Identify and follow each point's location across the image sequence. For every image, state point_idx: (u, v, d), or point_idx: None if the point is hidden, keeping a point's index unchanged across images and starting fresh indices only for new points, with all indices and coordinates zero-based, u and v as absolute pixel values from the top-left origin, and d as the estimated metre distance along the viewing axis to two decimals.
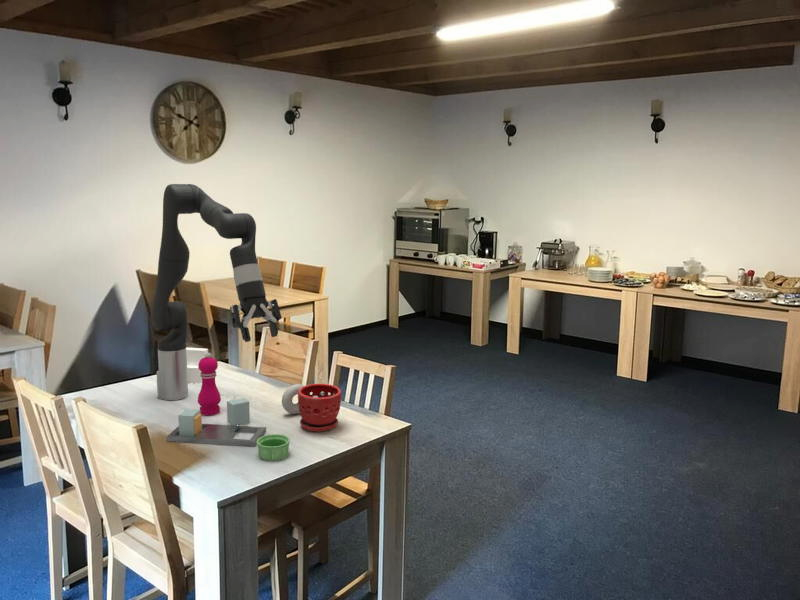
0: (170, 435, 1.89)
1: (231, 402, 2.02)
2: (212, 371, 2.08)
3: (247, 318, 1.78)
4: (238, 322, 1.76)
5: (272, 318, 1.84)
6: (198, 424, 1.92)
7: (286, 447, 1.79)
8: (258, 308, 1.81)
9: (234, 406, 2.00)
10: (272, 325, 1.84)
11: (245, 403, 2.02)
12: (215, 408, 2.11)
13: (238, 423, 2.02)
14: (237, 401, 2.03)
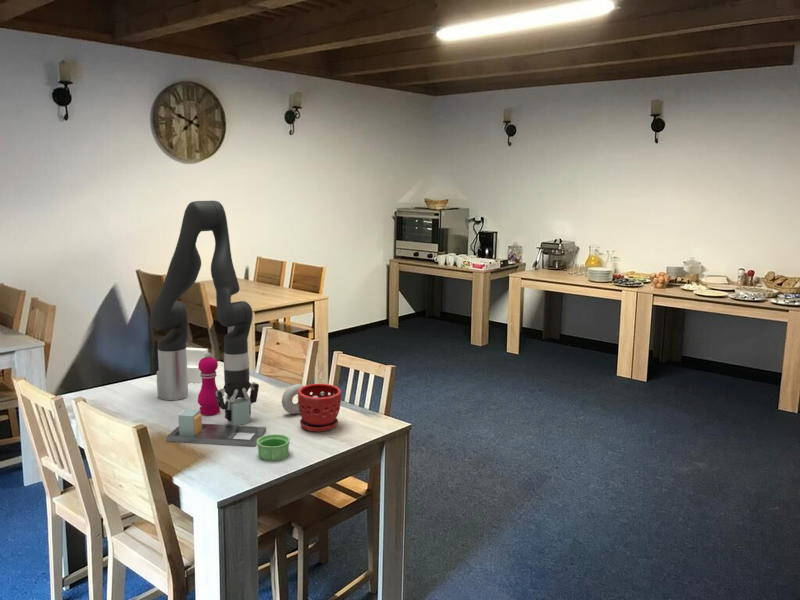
0: (170, 435, 1.89)
1: None
2: (212, 371, 2.08)
3: (230, 402, 2.00)
4: (223, 406, 1.99)
5: None
6: (198, 424, 1.92)
7: (286, 447, 1.79)
8: (239, 390, 2.02)
9: (234, 406, 2.00)
10: None
11: (245, 403, 2.02)
12: (215, 408, 2.11)
13: (238, 423, 2.02)
14: (237, 401, 2.03)
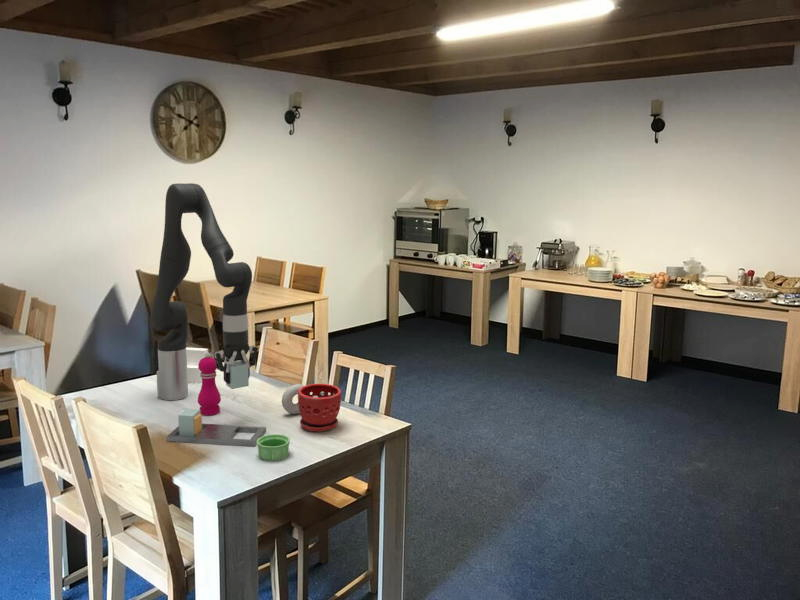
0: (170, 435, 1.89)
1: None
2: (212, 371, 2.08)
3: (229, 364, 1.98)
4: (222, 368, 1.97)
5: None
6: (198, 424, 1.92)
7: (286, 447, 1.79)
8: (238, 352, 2.00)
9: (233, 368, 1.98)
10: None
11: (244, 365, 2.00)
12: (215, 408, 2.11)
13: (237, 386, 2.00)
14: (236, 364, 2.00)
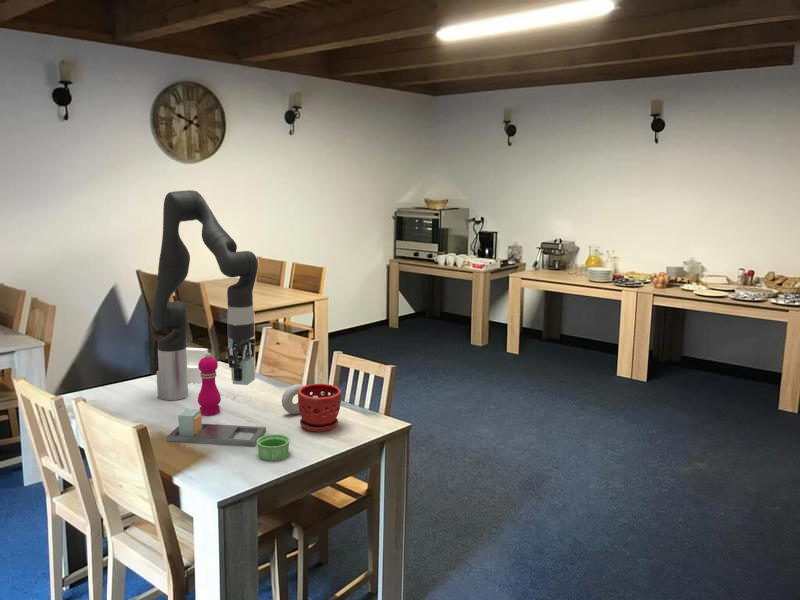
0: (170, 435, 1.89)
1: None
2: (212, 371, 2.08)
3: (242, 359, 1.87)
4: (238, 364, 1.84)
5: None
6: (198, 424, 1.92)
7: (286, 447, 1.79)
8: None
9: (246, 363, 1.87)
10: None
11: (252, 359, 1.91)
12: (215, 408, 2.11)
13: (249, 381, 1.89)
14: None
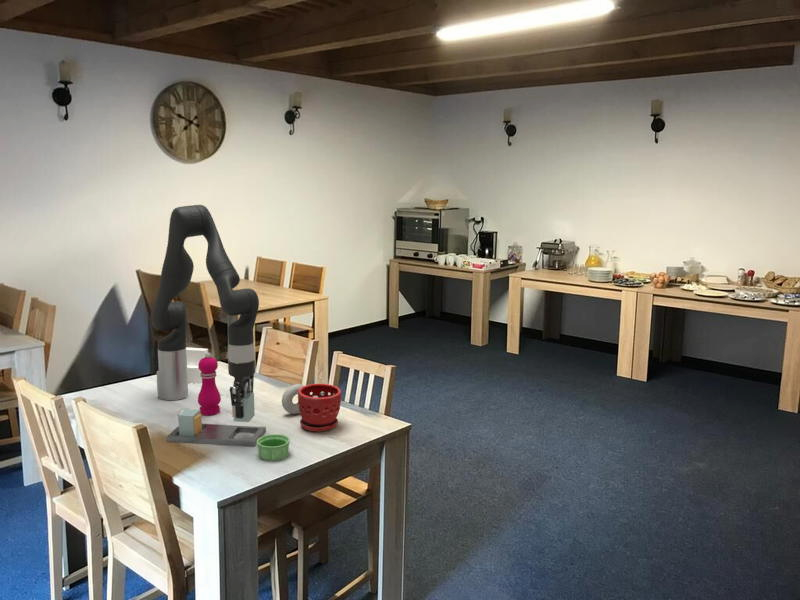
0: (170, 435, 1.89)
1: None
2: (212, 371, 2.08)
3: (244, 397, 1.86)
4: (240, 402, 1.84)
5: None
6: (198, 424, 1.92)
7: (286, 447, 1.79)
8: None
9: (248, 400, 1.87)
10: None
11: (252, 395, 1.91)
12: (215, 408, 2.11)
13: (250, 417, 1.90)
14: None
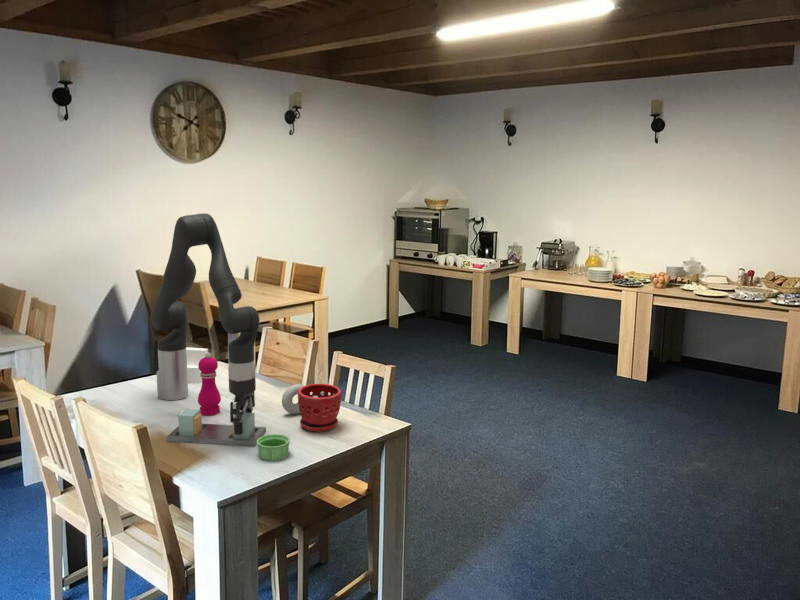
0: (170, 435, 1.89)
1: None
2: (212, 371, 2.08)
3: (243, 413, 1.87)
4: (239, 419, 1.84)
5: (251, 407, 1.94)
6: (198, 424, 1.92)
7: (286, 447, 1.79)
8: None
9: (248, 420, 1.88)
10: None
11: (253, 415, 1.92)
12: (215, 408, 2.11)
13: (250, 438, 1.91)
14: (244, 416, 1.90)
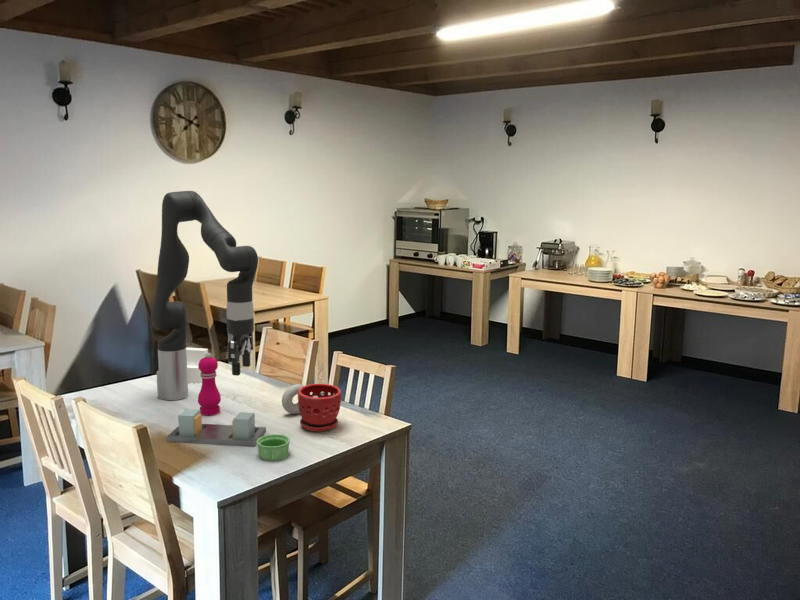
0: (170, 435, 1.89)
1: (240, 418, 1.89)
2: (212, 371, 2.08)
3: (241, 354, 1.85)
4: (237, 359, 1.82)
5: (249, 350, 1.93)
6: (198, 424, 1.92)
7: (286, 447, 1.79)
8: None
9: (248, 420, 1.88)
10: (248, 356, 1.93)
11: (253, 415, 1.92)
12: (215, 408, 2.11)
13: (250, 438, 1.91)
14: (244, 416, 1.90)
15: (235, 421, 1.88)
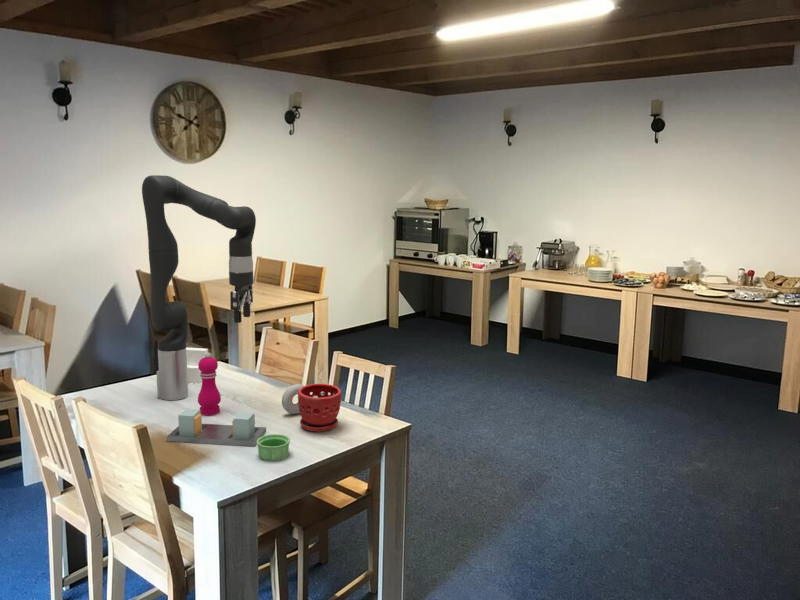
0: (170, 435, 1.89)
1: (240, 418, 1.89)
2: (212, 371, 2.08)
3: (242, 303, 2.06)
4: (238, 307, 2.03)
5: (249, 302, 2.14)
6: (198, 424, 1.92)
7: (286, 447, 1.79)
8: None
9: (248, 420, 1.88)
10: (248, 307, 2.14)
11: (253, 415, 1.92)
12: (215, 408, 2.11)
13: (250, 438, 1.91)
14: (244, 416, 1.90)
15: (235, 421, 1.88)
